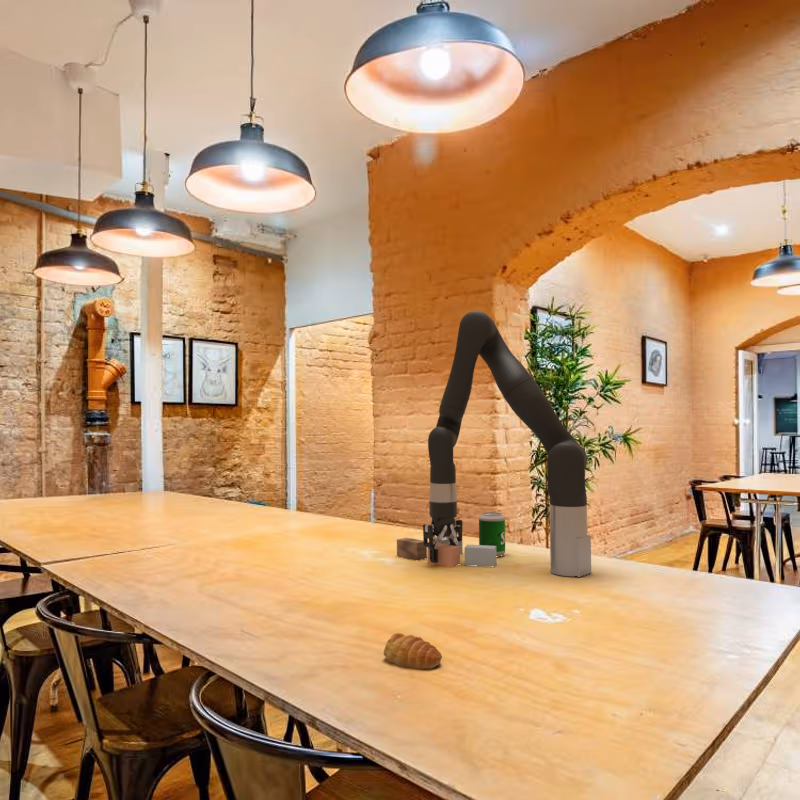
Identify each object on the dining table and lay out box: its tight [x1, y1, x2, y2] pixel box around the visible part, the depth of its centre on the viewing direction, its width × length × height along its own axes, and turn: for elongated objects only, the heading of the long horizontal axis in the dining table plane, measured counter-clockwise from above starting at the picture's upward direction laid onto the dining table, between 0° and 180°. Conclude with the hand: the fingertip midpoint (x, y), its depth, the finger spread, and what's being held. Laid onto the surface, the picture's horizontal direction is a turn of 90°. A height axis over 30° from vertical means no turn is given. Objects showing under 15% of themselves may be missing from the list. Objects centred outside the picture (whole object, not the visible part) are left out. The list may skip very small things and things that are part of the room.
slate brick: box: [433, 535, 463, 555], centre depth 184 cm, size 8×4×5 cm, turn 130°
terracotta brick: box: [427, 543, 461, 568], centre depth 172 cm, size 8×4×5 cm, turn 51°
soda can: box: [478, 511, 506, 557], centre depth 183 cm, size 8×8×12 cm
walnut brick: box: [396, 537, 427, 561], centre depth 180 cm, size 8×4×5 cm, turn 45°
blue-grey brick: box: [464, 544, 498, 567], centre depth 171 cm, size 8×4×5 cm, turn 74°
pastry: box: [383, 632, 443, 670], centre depth 102 cm, size 9×7×4 cm
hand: (443, 560), depth 172 cm, fingers open, 7 cm apart
